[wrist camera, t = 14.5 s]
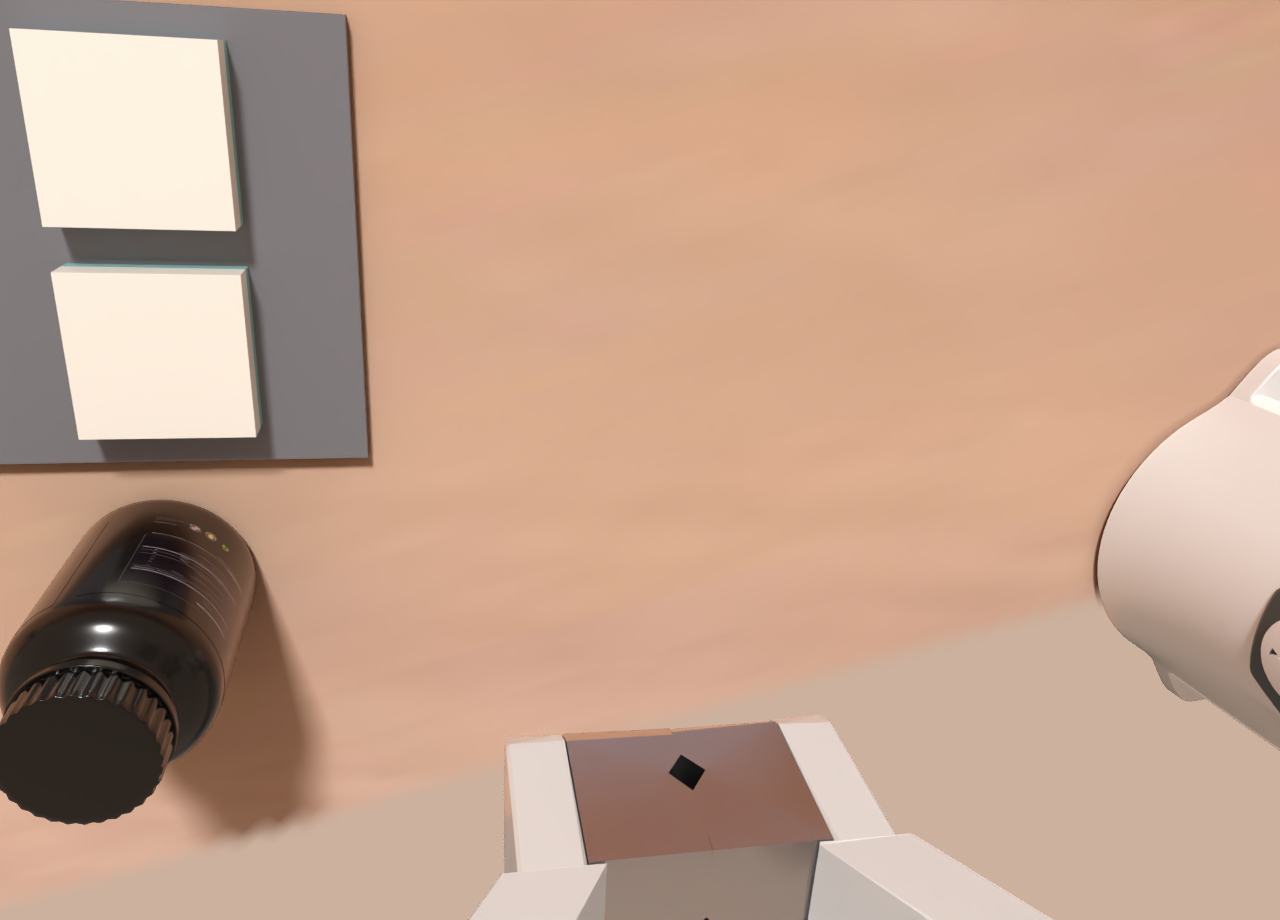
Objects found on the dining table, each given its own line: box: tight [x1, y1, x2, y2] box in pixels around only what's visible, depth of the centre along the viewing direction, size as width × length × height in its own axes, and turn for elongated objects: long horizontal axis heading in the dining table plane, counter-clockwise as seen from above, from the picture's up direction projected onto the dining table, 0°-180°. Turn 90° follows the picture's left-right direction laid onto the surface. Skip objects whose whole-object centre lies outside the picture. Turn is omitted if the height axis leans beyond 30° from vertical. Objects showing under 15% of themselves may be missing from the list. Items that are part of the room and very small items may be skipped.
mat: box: [0, 0, 369, 464], centre depth 35 cm, size 16×16×1 cm
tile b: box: [9, 28, 243, 231], centre depth 33 cm, size 2×6×6 cm
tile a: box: [51, 263, 263, 440], centre depth 36 cm, size 2×6×6 cm
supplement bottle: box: [0, 500, 256, 825], centre depth 35 cm, size 7×7×12 cm
